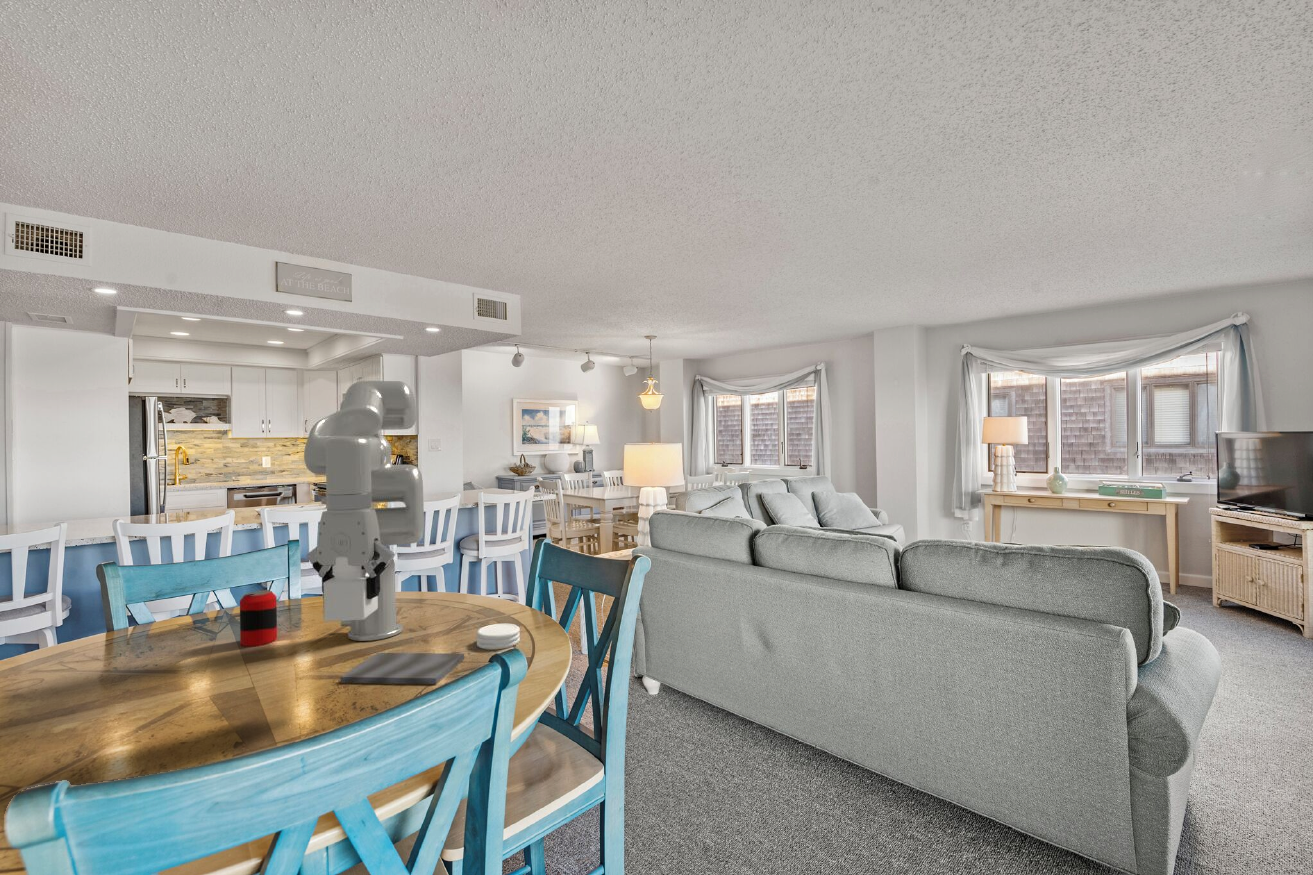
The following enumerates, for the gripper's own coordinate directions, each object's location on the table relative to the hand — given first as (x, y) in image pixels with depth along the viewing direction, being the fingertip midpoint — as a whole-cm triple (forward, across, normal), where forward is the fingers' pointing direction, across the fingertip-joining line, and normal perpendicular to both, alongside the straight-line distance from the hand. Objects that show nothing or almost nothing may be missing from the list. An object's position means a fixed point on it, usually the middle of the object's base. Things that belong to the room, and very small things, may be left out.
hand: (351, 596), depth 115 cm
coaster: (+20, +16, +34) cm, 42 cm away
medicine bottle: (+4, 0, 0) cm, 4 cm away
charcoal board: (+20, +2, +16) cm, 25 cm away
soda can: (+20, -44, +32) cm, 58 cm away
